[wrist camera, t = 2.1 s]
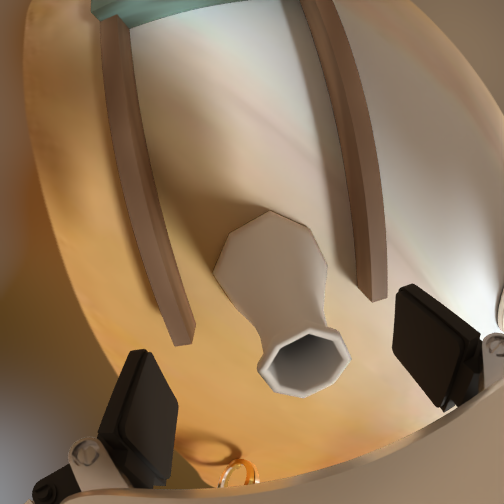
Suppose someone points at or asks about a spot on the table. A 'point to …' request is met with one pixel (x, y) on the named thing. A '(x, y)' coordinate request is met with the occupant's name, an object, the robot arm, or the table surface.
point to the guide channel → (140, 173)
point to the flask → (283, 302)
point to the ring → (236, 464)
